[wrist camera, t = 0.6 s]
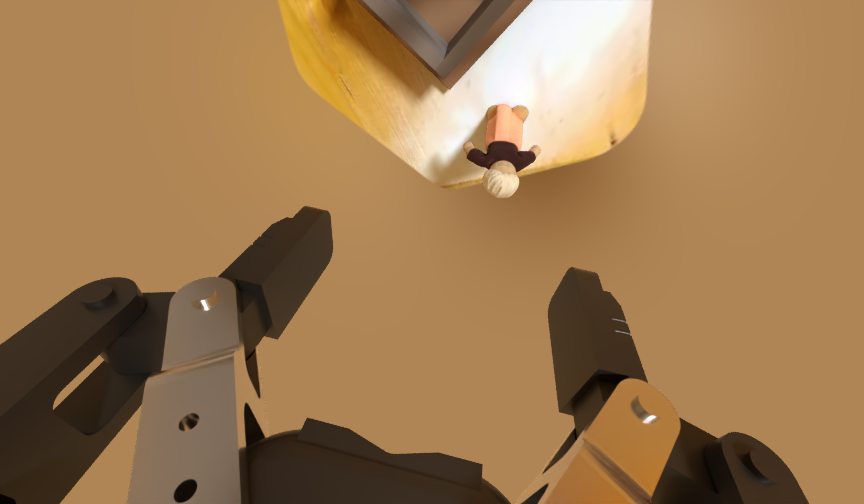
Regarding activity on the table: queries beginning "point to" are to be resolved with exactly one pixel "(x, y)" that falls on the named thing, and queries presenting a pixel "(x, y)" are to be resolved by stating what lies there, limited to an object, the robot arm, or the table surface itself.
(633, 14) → the table surface
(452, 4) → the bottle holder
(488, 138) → the grandmother figurine
